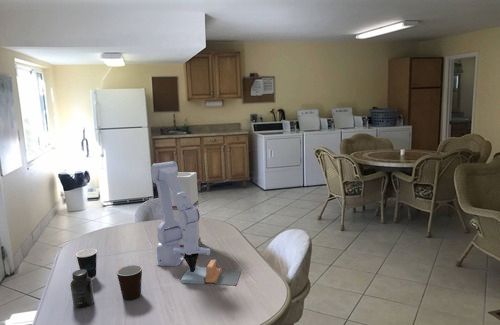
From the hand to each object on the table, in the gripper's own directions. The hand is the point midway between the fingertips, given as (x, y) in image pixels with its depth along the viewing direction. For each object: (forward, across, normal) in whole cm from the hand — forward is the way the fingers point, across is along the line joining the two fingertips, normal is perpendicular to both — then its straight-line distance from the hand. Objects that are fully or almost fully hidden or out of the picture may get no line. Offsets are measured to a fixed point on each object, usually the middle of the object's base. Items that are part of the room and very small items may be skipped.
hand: (192, 271), depth 152 cm
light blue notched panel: (+2, +1, 0) cm, 3 cm away
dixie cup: (+3, -42, -4) cm, 42 cm away
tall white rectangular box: (+3, -13, +33) cm, 36 cm away
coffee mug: (+3, -18, -15) cm, 24 cm away
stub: (+2, +8, 0) cm, 9 cm away
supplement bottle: (+3, -33, -23) cm, 40 cm away
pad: (+2, +14, 0) cm, 15 cm away
